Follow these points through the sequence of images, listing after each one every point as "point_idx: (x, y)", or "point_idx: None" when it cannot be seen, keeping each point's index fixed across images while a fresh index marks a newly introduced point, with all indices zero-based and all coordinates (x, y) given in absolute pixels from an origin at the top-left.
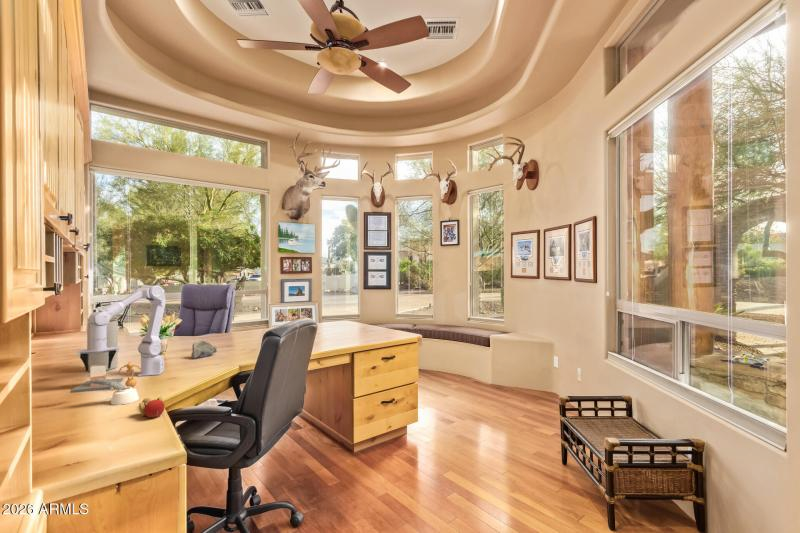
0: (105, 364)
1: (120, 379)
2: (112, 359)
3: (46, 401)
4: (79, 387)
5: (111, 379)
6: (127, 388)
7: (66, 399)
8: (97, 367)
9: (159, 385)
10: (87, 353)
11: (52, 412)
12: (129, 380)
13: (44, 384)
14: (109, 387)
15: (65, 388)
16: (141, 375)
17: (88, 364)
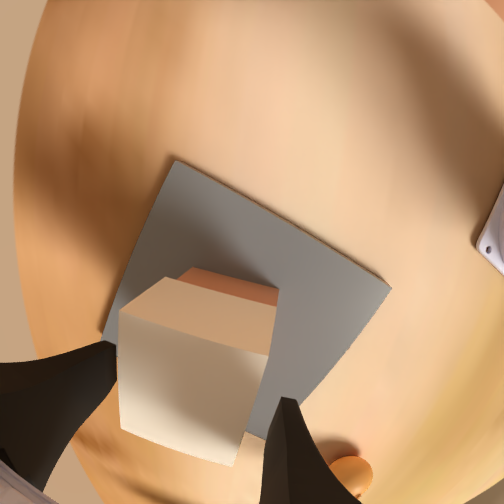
0: (248, 409)
1: (365, 317)
2: (321, 461)
3: None
4: None
5: (319, 262)
6: None
7: (112, 425)
8: (173, 445)
9: (422, 481)
10: (3, 478)
11: (112, 489)
12: None
13: (43, 49)
14: (264, 437)
15: (81, 216)
16: (489, 261)
17: (81, 362)
